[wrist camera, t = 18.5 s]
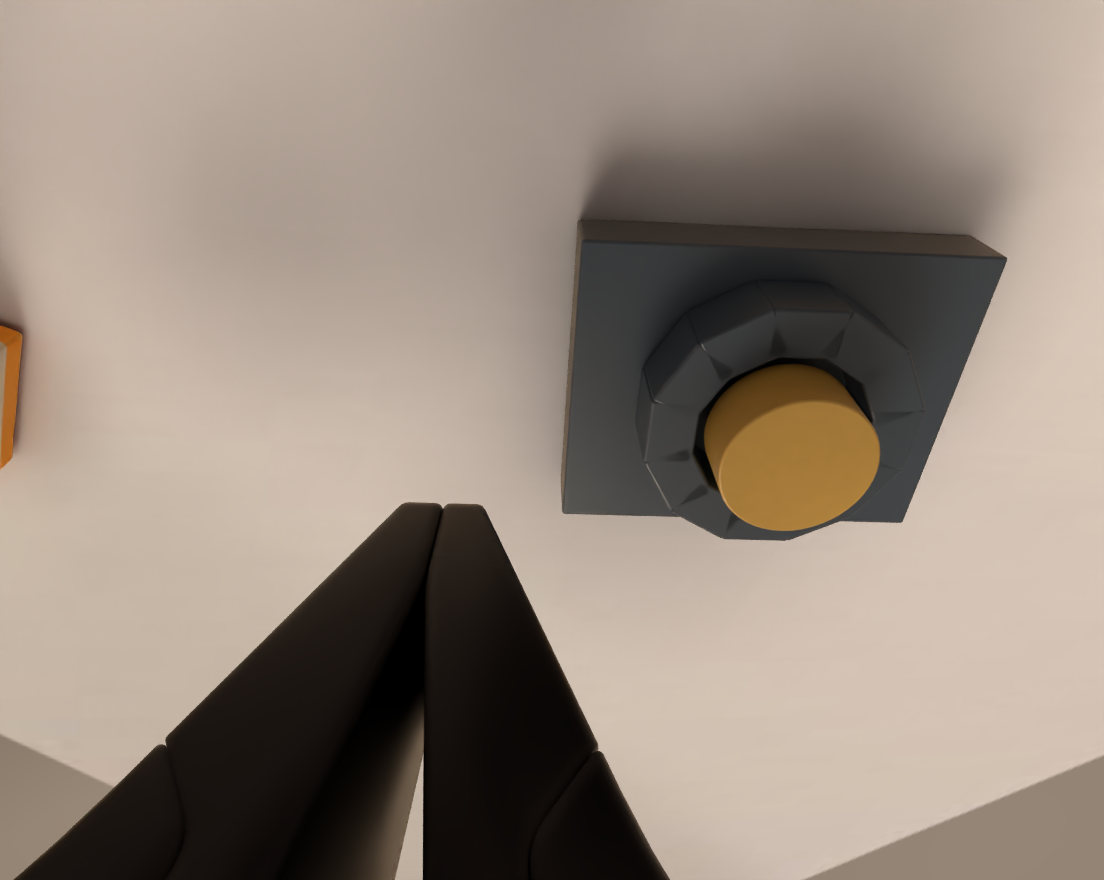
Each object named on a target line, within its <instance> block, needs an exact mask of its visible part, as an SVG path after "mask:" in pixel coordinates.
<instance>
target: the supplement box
mask: <svg viewBox="0 0 1104 880" xmlns="http://www.w3.org/2000/svg"><path fill="white" fill-rule="evenodd" d="M21 349H22V335H21V333H19V332H17V331H15V330H12V329H9V328H6V327H3V326H1V325H0V469H1V468H2V467H3V466H5V465H6V464H7V463H8V462H9V461H10V460H11V458H12V449H13V436H14V425H15V422H16V418H15V414H16V405H17V396H18V381H19V369H20V357H21Z"/></svg>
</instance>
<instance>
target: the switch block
mask: <svg viewBox="0 0 1104 880" xmlns="http://www.w3.org/2000/svg"><path fill="white" fill-rule="evenodd" d="M1006 262H1007V258H1006V257H1005V256H1003V255H1002V254H1000V253H998V252H997V251H995V250H993V249H992V248H990V247H989V246H987V245H985V244H984V243H982V242H980V241H979V240H977V239H976V238H974V237H972V236H957V235H934V234H911V233H887V232H864V231H841V230H818V229H794V228H771V227H748V226H725V225H701V224H678V223H655V222H632V221H608V220H585V219H581V220H579V221H578V229H577V244H576V259H575V274H574V289H573V304H572V319H571V334H570V349H569V364H568V379H567V394H566V409H565V424H564V439H563V454H562V469H561V495H562V512H563V513H564V514H593V515H631V516H668V517H682V518H684V519H686V520H687V521H689V522H691V523H693V524H695V525H697V526H699V527H701V528H703V529H705V530H706V531H708V532H710V533H712V534H714V535H716V536H718V537H720V538H723V539H743V540H781V541H785V540H791V539H793V538H796V537H799V536H801V535H804V534H807V533H810V532H812V531H815V530H818V529H820V528H823V527H826V526H828V525H831V524H834V523H836V522H839V521H853V522H890V523H901V522H902V521H903V519H904V517H905V514H906V512H907V509H908V507H909V504H910V502H911V499H912V497H913V494H914V492H915V489H916V487H917V484H918V482H919V479H920V477H921V474H922V472H923V469H924V467H925V464H926V462H927V459H928V457H929V454H930V452H931V449H932V447H933V444H934V442H935V439H936V437H937V434H938V432H939V429H940V427H941V424H942V422H943V419H944V417H945V414H946V412H947V409H948V407H949V404H950V402H951V399H952V397H953V394H954V392H955V389H956V387H957V384H958V382H959V379H960V377H961V374H962V372H963V369H964V367H965V364H966V362H967V359H968V357H969V354H970V352H971V349H972V347H973V344H974V342H975V339H976V337H977V334H978V332H979V329H980V327H981V324H982V322H983V319H984V317H985V314H986V312H987V309H988V307H989V304H990V302H991V299H992V297H993V294H994V292H995V289H996V287H997V284H998V282H999V279H1000V277H1001V274H1002V272H1003V269H1004V267H1005V264H1006ZM779 364H804V365H809V366H813V367H816V368H819V369H822V370H824V371H826V372H828V373H829V374H831V375H832V376H834V377H835V378H836V379H838V380H839V381H840V382H841V384H842V385H843V386H844V387H845V388H846V390H847V391H848V392H849V394H850V395H851V397H852V398H853V399H854V401H855V402H856V403H857V405H858V406H859V407H860V409H861V410H862V412H863V413H864V414H865V416H866V417H867V418H868V420H869V421H870V423H871V424H872V426H873V427H874V429H875V431H876V433H877V436H878V439H879V443H880V461H879V466H878V470H877V473H876V475H875V477H874V480H873V481H872V483H871V485H870V486H869V488H868V489H867V491H866V492H865V493H864V495H863V496H862V497H861V498H860V499H859V500H858V501H857V502H856V503H855V504H854V505H852V506H851V507H850V508H849V509H848V510H846V511H845V512H843V513H842V514H840V515H839V516H837V517H835V518H833V519H831V520H829V521H827V522H824V523H822V524H819V525H816V526H813V527H810V528H805V529H800V530H792V531H777V530H769V529H763V528H760V527H757V526H754V525H752V524H749V523H747V522H745V521H744V520H742V519H741V518H739V517H738V516H737V515H735V514H734V513H733V512H732V511H731V510H730V509H729V508H728V506H727V505H726V504H725V502H724V500H723V499H722V496H721V493H720V491H719V488H718V485H717V482H716V479H715V477H714V474H713V471H712V468H711V465H710V462H709V459H708V456H707V453H706V450H705V445H704V430H705V425H706V421H707V418H708V416H709V414H710V411H711V409H712V408H713V406H714V404H715V403H716V401H717V400H718V399H719V397H720V396H721V395H722V394H723V393H724V392H725V391H726V390H727V389H728V388H729V387H730V386H731V385H733V384H734V383H735V382H736V381H738V380H739V379H741V378H743V377H744V376H746V375H748V374H750V373H752V372H754V371H757V370H759V369H762V368H765V367H769V366H773V365H779Z"/></svg>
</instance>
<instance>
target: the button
mask: <svg viewBox="0 0 1104 880" xmlns="http://www.w3.org/2000/svg"><path fill="white" fill-rule="evenodd" d="M704 445H705V450H706V453H707V456H708V459H709V462H710V465H711V468H712V471H713V474H714V477H715V479H716V482H717V485H718V488H719V491H720V493H721V496H722V499H723V500H724V502H725V504H726V505H727V506H728V508H729V509H730V510H731V511H732V512H733V513H734V514H735V515H737V516H738V517H739V518H741V519H742V520H744V521H745V522H747V523H749V524H752V525H754V526H757V527H760V528H763V529H769V530H777V531H792V530H800V529H805V528H810V527H813V526H816V525H819V524H822V523H824V522H827V521H829V520H831V519H833V518H835V517H837V516H839V515H840V514H842V513H843V512H845V511H846V510H848V509H849V508H850V507H851V506H852V505H854V504H855V503H856V502H857V501H858V500H859V499H860V498H861V497H862V496H863V495H864V493H865V492H866V491H867V489H868V488H869V486H870V485H871V483H872V481H873V480H874V477H875V475H876V473H877V470H878V466H879V461H880V443H879V439H878V436H877V433H876V431H875V429H874V427H873V426H872V424H871V423H870V421H869V420H868V418H867V417H866V416H865V414H864V413H863V412H862V410H861V409H860V407H859V406H858V405H857V403H856V402H855V401H854V399H853V398H852V397H851V395H850V394H849V392H848V391H847V390H846V388H845V387H844V386H843V385H842V384H841V382H840V381H839V380H838V379H836V378H835V377H834V376H832V375H831V374H829V373H828V372H826V371H824V370H822V369H819V368H816V367H813V366H809V365H804V364H779V365H773V366H769V367H765V368H762V369H759V370H757V371H754V372H752V373H750V374H748V375H746V376H744V377H743V378H741V379H739V380H738V381H736V382H735V383H734V384H733V385H731V386H730V387H729V388H728V389H727V390H726V391H725V392H724V393H723V394H722V395H721V396H720V397H719V399H718V400H717V401H716V403H715V404H714V406H713V408H712V409H711V411H710V414H709V416H708V418H707V421H706V425H705V430H704Z"/></svg>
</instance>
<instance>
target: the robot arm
mask: <svg viewBox="0 0 1104 880" xmlns="http://www.w3.org/2000/svg"><path fill="white" fill-rule="evenodd" d="M165 741H166V746H167V747H166V746H165V745H161V744H160V745H158V746H156V747H155V748H154V749H153V750H152V751H151V752H150V753H149V754H148V755H147V756H146V757H145V758H144V759H143V760H142V761H141V762H140V763H139V764H138V765H137V766H136V767H135V768H134V769H133V770H132V771H131V772H130V773H129V774H128V775H127V776H126V777H125V778H124V779H123V780H122V781H121V782H120V783H119V784H117V785H116V786H115V787H114V788H113V789H112V790H111V791H110V792H109V793H108V794H107V795H106V796H105V797H104V798H103V799H102V800H101V801H100V802H98V803H97V805H95V806H94V807H93V808H92V809H91V810H90V811H89V812H88V813H87V814H86V815H85V816H84V817H83V818H82V819H80V821H78V822H77V823H76V824H75V825H74V826H73V827H72V828H71V829H70V830H69V831H68V832H67V833H66V834H65V835H64V836H63V837H61V839H59V840H58V841H57V842H56V843H55V844H54V845H53V846H52V847H50V848H49V849H48V850H47V851H46V852H45V853H44V854H42V855H41V856H40V857H39V858H38V859H37V860H36V861H34V862H33V863H32V864H31V865H30V866H29V867H28V868H26V869H25V870H24V871H23V872H22V873H21V874H20V875H18V876H17V877H16V878H15V879H14V880H395V876H396V872H397V867H398V863H399V858H400V854H401V850H402V845H403V841H404V836H405V832H406V827H407V823H408V819H409V814H410V810H411V805H412V801H413V796H414V792H415V787H416V783H417V779H418V774H419V770H420V765H421V761H422V756H423V752H424V771H423V880H670V879H669V877H668V876H667V874H666V872H665V871H664V869H663V867H662V866H661V864H660V862H659V861H658V859H657V857H656V856H655V854H654V852H653V851H652V849H651V847H650V845H649V843H648V841H647V839H646V838H645V836H644V834H643V832H642V830H641V828H640V826H639V824H638V822H637V820H636V818H635V817H634V815H633V813H632V811H631V809H630V807H629V805H628V803H627V801H626V799H625V798H624V796H623V794H622V792H621V790H620V788H619V786H618V784H617V782H616V779H615V777H614V775H613V773H612V771H611V769H610V767H609V765H608V763H607V761H606V759H605V757H604V755H603V753H602V752H600V751H598V743H597V741H596V739H595V737H594V735H593V733H592V731H591V729H590V726H589V724H588V722H587V720H586V718H585V716H584V714H583V712H582V710H581V708H580V706H579V704H578V702H577V699H576V697H575V695H574V693H573V691H572V689H571V687H570V685H569V683H568V681H567V679H566V677H565V675H564V672H563V670H562V668H561V666H560V664H559V662H558V660H557V658H556V656H555V654H554V652H553V650H552V647H551V645H550V643H549V641H548V639H547V637H546V635H545V633H544V631H543V629H542V627H541V625H540V623H539V620H538V618H537V616H536V614H535V612H534V610H533V608H532V606H531V604H530V602H529V600H528V598H527V596H526V593H525V591H524V589H523V587H522V585H521V583H520V581H519V579H518V577H517V575H516V573H515V571H514V569H513V566H512V564H511V562H510V560H509V558H508V556H507V554H506V552H505V550H504V548H503V546H502V544H501V542H500V539H499V537H498V535H497V533H496V531H495V529H494V527H493V525H492V523H491V521H490V519H489V517H488V514H487V512H486V510H485V509H484V508H483V506H481V505H478V504H447V505H446V506H445V507H444V508H442V507H441V505H439V504H438V503H415V502H408V503H404V504H402V505H400V506H399V507H398V508H397V509H396V510H395V511H394V512H393V513H392V514H391V515H390V516H389V517H388V518H387V519H386V520H385V521H384V522H383V523H382V524H381V525H380V526H379V527H378V528H377V529H376V530H375V531H374V532H373V533H372V534H371V535H370V536H369V537H368V538H367V539H366V540H365V541H364V542H363V543H362V544H361V545H360V546H359V547H358V548H357V549H356V550H355V551H354V552H353V553H352V554H351V555H350V556H349V557H348V558H347V559H346V560H345V561H344V562H343V563H342V564H341V565H340V566H339V567H338V568H337V569H335V570H334V571H333V572H332V573H331V574H330V575H329V576H328V577H327V578H326V579H325V580H324V581H323V582H322V583H321V584H320V585H319V586H318V587H317V588H316V589H315V590H314V591H313V592H312V593H311V594H310V595H309V596H308V597H307V598H306V599H305V600H304V601H303V602H302V603H301V604H300V605H299V606H298V607H297V608H296V609H295V610H294V611H293V612H292V613H291V614H290V615H289V616H288V617H287V618H286V619H285V620H284V621H283V622H282V623H281V624H280V625H279V626H278V627H277V628H276V629H275V630H274V631H273V632H272V633H271V634H270V635H269V636H268V637H267V638H266V639H265V640H264V641H263V642H262V643H261V644H260V645H259V646H258V647H257V648H256V649H255V650H254V651H253V652H252V653H251V654H250V655H249V656H248V657H247V658H246V659H245V660H244V661H242V662H241V663H240V664H239V665H238V666H237V667H236V668H235V669H234V670H233V671H232V672H231V673H230V674H229V675H228V676H227V677H226V678H225V679H224V680H223V681H222V682H221V683H220V684H219V685H218V686H217V687H216V688H215V689H214V690H213V691H212V692H211V693H210V694H209V695H208V696H207V697H206V698H205V699H204V700H203V701H202V702H201V703H200V704H199V705H198V706H197V707H196V708H195V709H194V710H193V711H192V712H191V713H190V714H189V715H188V716H187V717H186V718H185V719H184V720H183V721H182V722H181V723H180V724H179V725H178V726H177V727H176V728H175V729H174V730H173V731H172V732H171V733H170V734H169V735H168V736H167V737H166V740H165Z"/></svg>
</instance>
